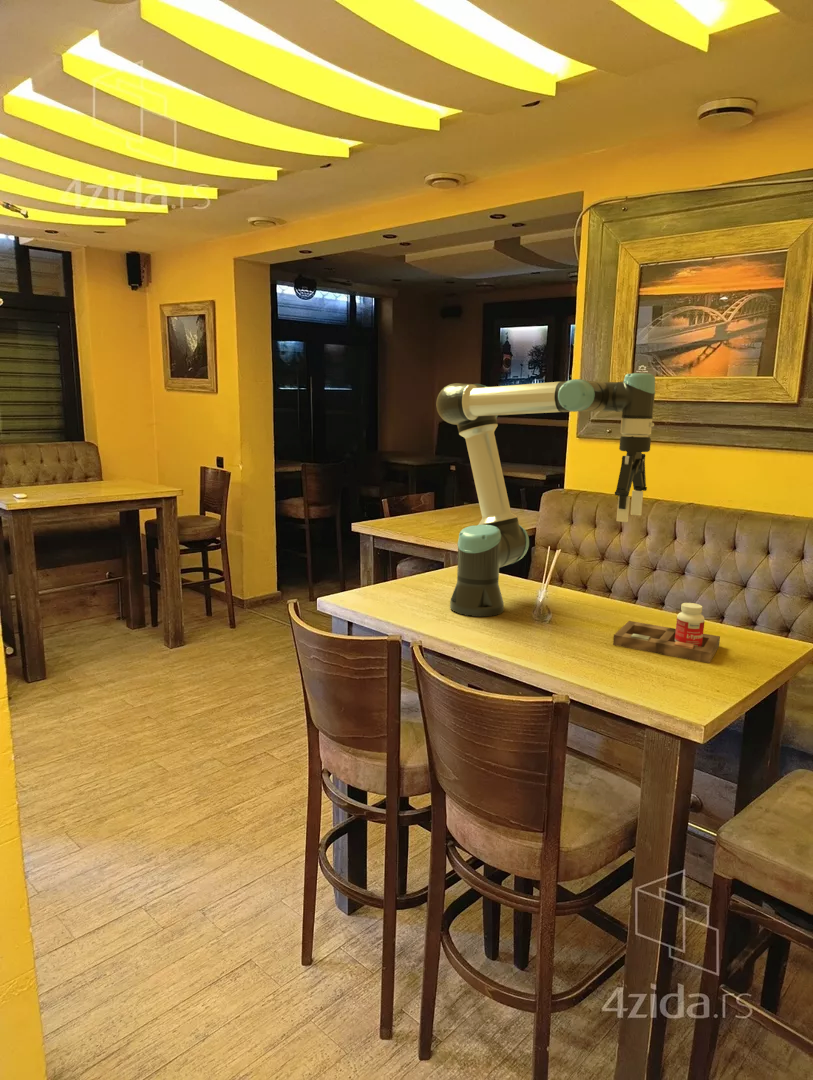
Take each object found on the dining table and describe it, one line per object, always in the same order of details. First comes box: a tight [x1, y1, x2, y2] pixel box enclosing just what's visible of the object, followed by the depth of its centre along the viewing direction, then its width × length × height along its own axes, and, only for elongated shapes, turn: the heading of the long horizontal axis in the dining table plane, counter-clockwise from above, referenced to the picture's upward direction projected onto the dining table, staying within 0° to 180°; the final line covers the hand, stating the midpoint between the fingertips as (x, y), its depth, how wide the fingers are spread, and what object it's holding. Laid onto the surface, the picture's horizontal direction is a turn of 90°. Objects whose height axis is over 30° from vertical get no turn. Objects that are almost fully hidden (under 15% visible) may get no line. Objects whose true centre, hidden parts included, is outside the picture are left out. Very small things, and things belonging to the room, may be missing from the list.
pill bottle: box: [675, 602, 706, 647], centre depth 168 cm, size 6×6×11 cm
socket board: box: [612, 620, 721, 664], centre depth 171 cm, size 22×14×3 cm, turn 58°
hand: (629, 518), depth 182 cm, fingers open, 13 cm apart
